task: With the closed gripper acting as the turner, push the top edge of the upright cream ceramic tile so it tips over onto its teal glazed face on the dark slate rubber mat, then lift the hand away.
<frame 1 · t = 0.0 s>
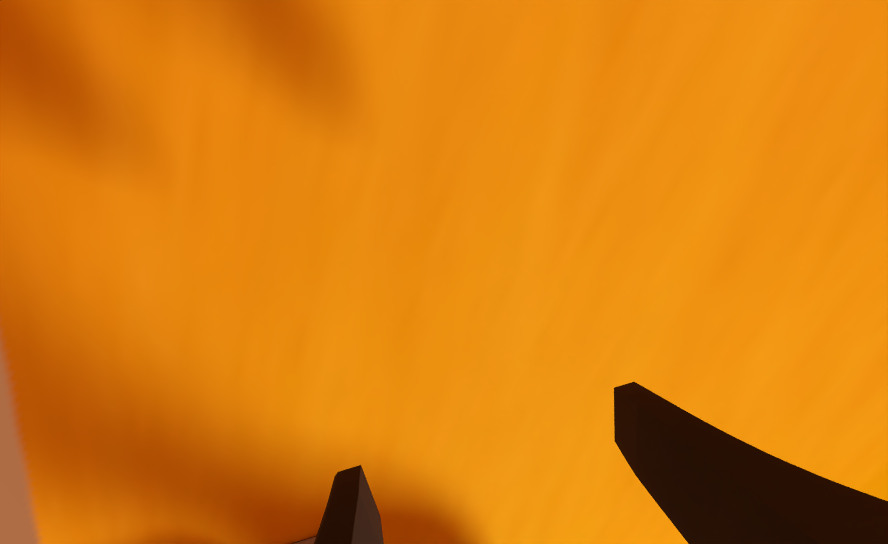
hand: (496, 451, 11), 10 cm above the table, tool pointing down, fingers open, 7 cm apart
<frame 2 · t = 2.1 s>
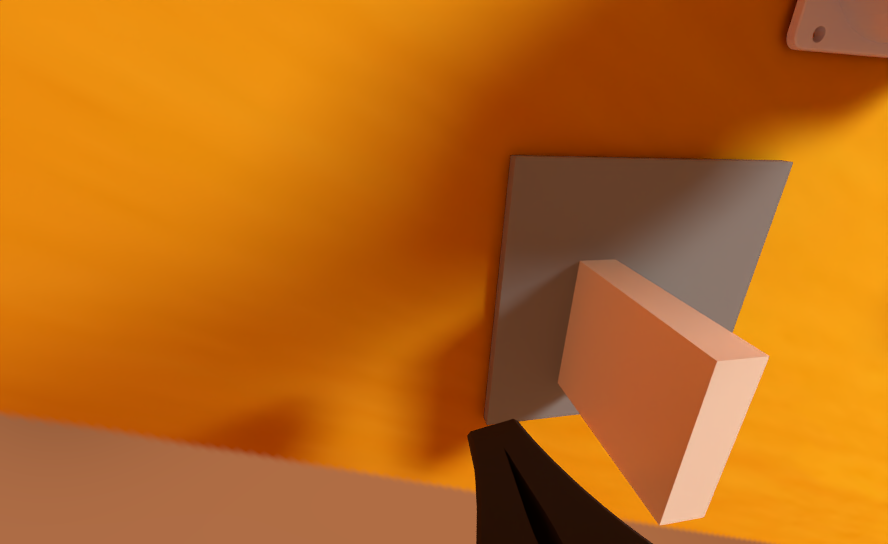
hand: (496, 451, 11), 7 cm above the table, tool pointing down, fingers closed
mat: (624, 296, 19), on the table
tile: (584, 324, 18), resting on mat
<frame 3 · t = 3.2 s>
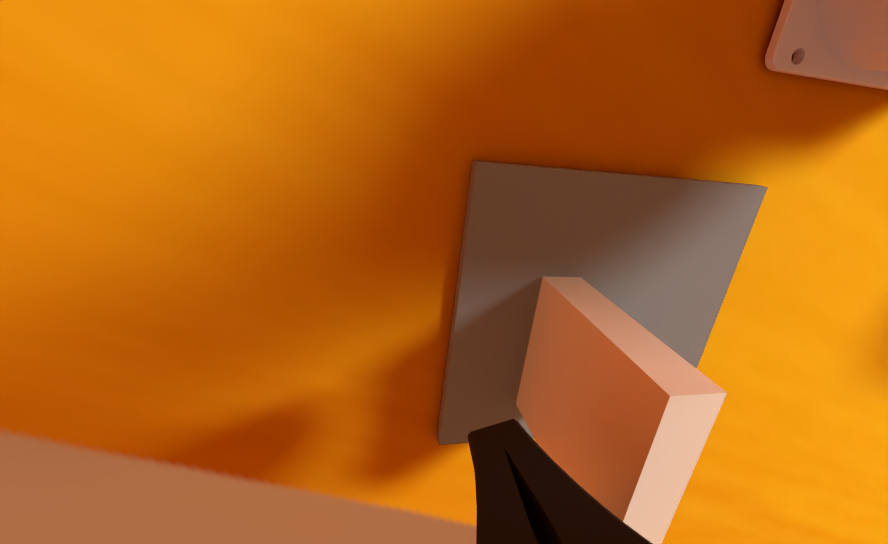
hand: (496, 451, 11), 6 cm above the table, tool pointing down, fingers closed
mat: (589, 316, 18), on the table
tile: (546, 344, 17), resting on mat
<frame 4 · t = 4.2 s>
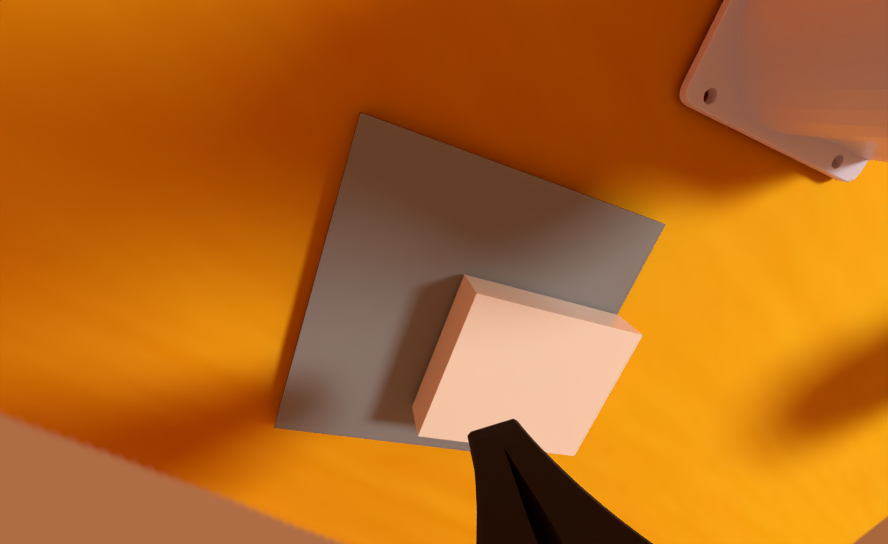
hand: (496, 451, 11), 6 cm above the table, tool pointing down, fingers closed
mat: (467, 319, 17), on the table
tile: (440, 356, 15), point 1 cm above the table, tilted 90°, touching mat
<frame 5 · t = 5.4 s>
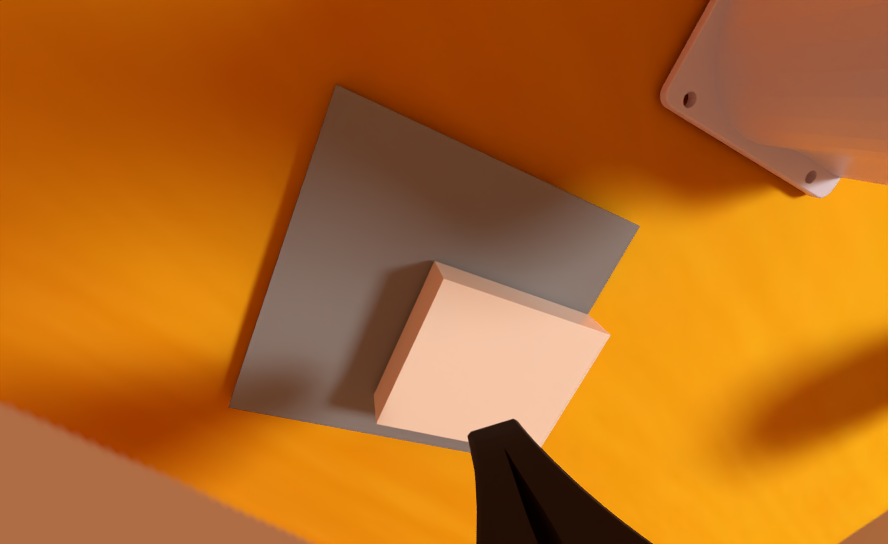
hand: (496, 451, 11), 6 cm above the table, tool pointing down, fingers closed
mat: (436, 308, 16), on the table
tile: (405, 342, 15), point 1 cm above the table, tilted 90°, touching mat
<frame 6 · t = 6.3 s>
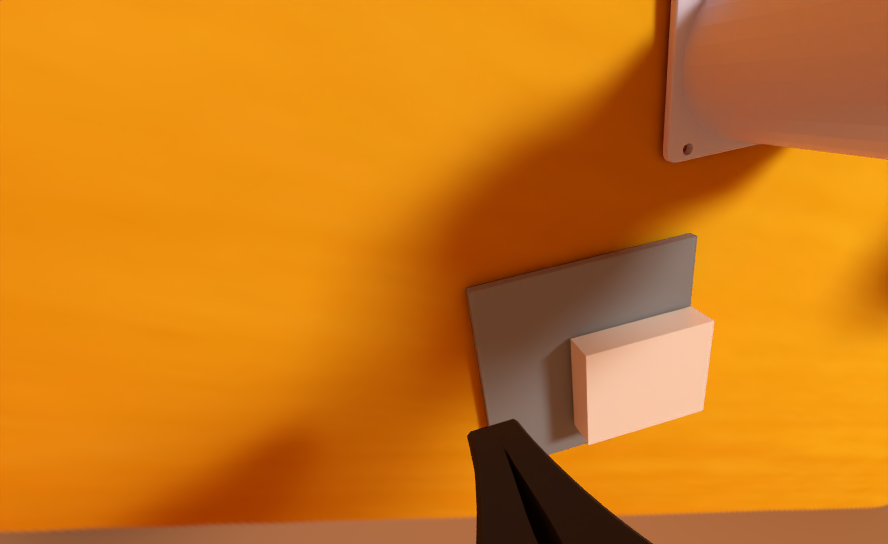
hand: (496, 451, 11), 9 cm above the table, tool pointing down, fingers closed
mat: (584, 357, 23), on the table
tile: (579, 393, 22), point 1 cm above the table, tilted 90°, touching mat
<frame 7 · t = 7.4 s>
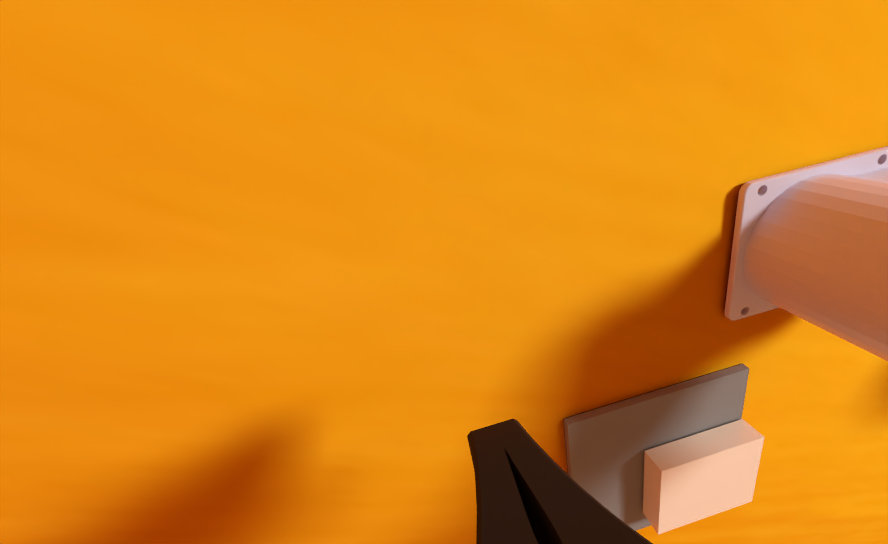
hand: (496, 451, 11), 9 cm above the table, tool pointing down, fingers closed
mat: (652, 459, 28), on the table
tile: (651, 493, 27), point 1 cm above the table, tilted 90°, touching mat
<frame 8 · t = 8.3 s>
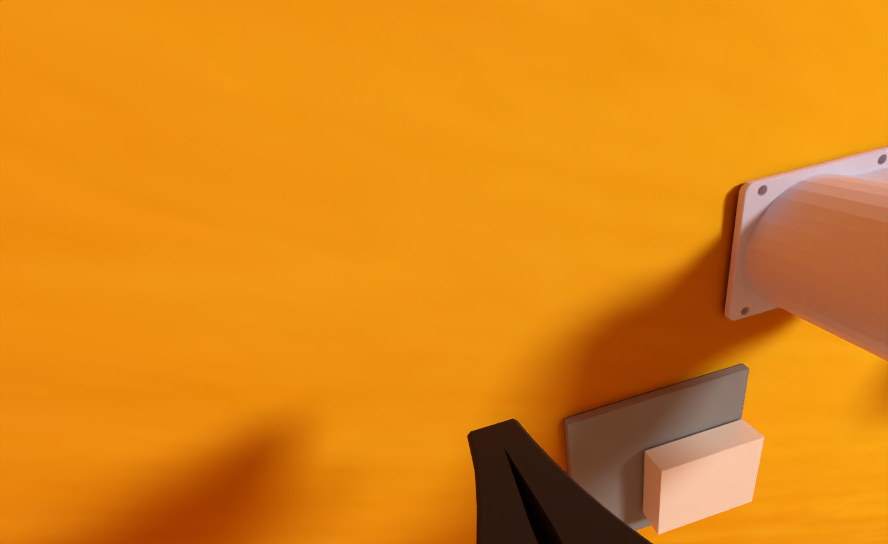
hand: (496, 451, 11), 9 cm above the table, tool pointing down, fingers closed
mat: (652, 459, 28), on the table
tile: (651, 493, 27), point 1 cm above the table, tilted 90°, touching mat
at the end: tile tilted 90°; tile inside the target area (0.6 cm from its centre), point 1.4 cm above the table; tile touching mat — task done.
